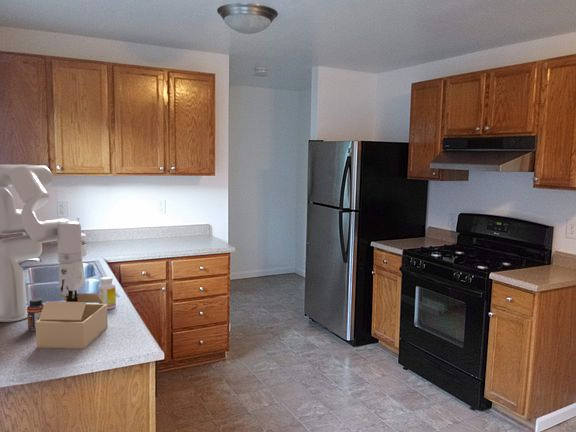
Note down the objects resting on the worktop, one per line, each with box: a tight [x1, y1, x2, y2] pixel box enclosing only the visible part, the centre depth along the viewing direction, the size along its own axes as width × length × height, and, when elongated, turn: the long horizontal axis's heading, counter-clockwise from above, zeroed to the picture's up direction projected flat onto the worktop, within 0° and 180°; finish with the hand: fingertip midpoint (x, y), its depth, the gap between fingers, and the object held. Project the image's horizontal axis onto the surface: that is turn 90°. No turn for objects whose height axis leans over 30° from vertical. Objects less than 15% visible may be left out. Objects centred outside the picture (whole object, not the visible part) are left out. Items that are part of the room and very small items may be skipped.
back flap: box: [59, 292, 103, 304], centre depth 173 cm, size 14×6×1 cm
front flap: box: [39, 300, 87, 320], centre depth 158 cm, size 14×6×1 cm
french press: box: [76, 217, 89, 259], centre depth 295 cm, size 10×12×25 cm
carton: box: [35, 303, 109, 350], centre depth 166 cm, size 16×20×9 cm
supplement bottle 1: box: [27, 297, 45, 332], centre depth 173 cm, size 6×6×11 cm
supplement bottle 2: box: [98, 276, 117, 310], centre depth 199 cm, size 7×7×13 cm
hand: (72, 308), depth 165 cm, fingers closed
